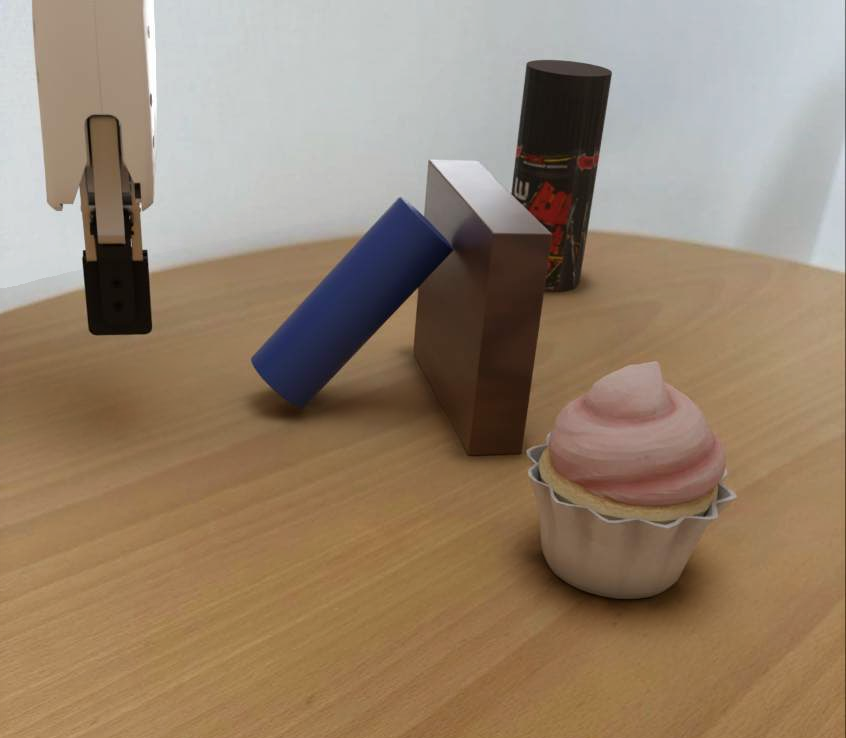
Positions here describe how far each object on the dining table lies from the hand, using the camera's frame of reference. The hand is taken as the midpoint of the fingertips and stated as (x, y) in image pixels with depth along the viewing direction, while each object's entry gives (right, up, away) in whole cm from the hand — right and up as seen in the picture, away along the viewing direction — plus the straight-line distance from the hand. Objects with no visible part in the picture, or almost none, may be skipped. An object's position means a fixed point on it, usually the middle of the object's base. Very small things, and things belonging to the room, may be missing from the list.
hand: (120, 328), depth 60 cm
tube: (+12, +2, +3) cm, 12 cm away
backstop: (+18, -3, +7) cm, 20 cm away
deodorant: (+25, +9, +27) cm, 38 cm away
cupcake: (+25, -12, -7) cm, 28 cm away
